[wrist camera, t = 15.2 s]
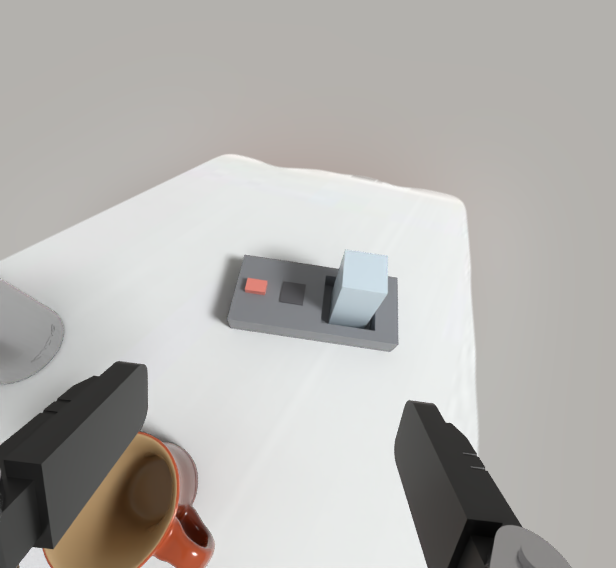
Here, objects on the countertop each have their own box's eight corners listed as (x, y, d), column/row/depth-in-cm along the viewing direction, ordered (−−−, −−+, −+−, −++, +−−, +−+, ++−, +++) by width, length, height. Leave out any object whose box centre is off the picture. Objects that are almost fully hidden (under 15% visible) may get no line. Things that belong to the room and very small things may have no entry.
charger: (328, 323, 39) (342, 287, 30) (331, 291, 41) (345, 248, 32) (363, 329, 39) (387, 293, 30) (365, 296, 41) (387, 254, 32)
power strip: (230, 328, 38) (225, 316, 35) (246, 266, 42) (244, 251, 39) (390, 351, 38) (400, 342, 35) (390, 288, 42) (399, 274, 39)
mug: (93, 504, 29) (8, 528, 20) (161, 418, 33) (116, 406, 24) (192, 592, 27) (147, 664, 18) (253, 488, 30) (241, 505, 21)
